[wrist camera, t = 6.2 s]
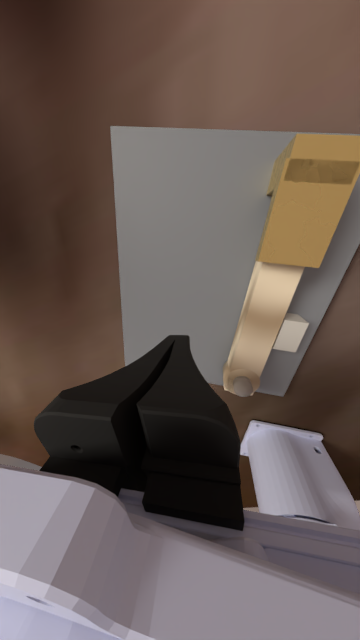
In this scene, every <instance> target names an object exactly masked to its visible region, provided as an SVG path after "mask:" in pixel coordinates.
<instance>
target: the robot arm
mask: <svg viewBox="0 0 360 640" xmlns="http://www.w3.org/2000/svg"><path fill="white" fill-rule="evenodd" d="M34 430H35V432H36V434H37V437H38V438H39V440H40V441H41V443H42V444H43V446H44V447H45V449H46V450H47V452H48V454H49V455H50V457H49V459H48V460H47V461H46V463H45V464H44V465H43V467H42V468H41V469H40V471H36V470H30V469H25V468H19V467H13V466H8V465H2V464H0V640H360V516H359V512H358V509H357V507H356V504H355V502H354V499H353V497H352V495H351V493H350V492H349V490H348V488H347V486H346V484H345V483H344V481H343V479H342V477H341V476H340V474H339V472H338V470H337V469H336V467H335V465H334V463H333V462H332V460H331V458H330V456H329V455H328V453H327V451H326V449H325V447H324V446H323V444H322V442H321V441H322V439H323V436H322V434H320V433H316V432H311V431H306V430H301V429H296V428H291V427H286V426H281V425H276V424H271V423H266V422H261V421H256V420H252V421H251V422H250V424H249V426H248V429H247V431H246V433H245V436H244V438H243V441H242V443H241V445H240V439H239V435H238V432H237V428H236V426H235V423H234V420H233V418H232V415H231V413H230V411H229V409H228V406H227V404H226V403H225V402H224V401H223V400H222V399H221V398H220V397H219V396H218V395H217V394H216V393H215V392H214V390H213V389H212V388H211V387H210V386H209V384H208V383H207V381H206V380H205V379H204V377H203V376H202V374H201V373H200V371H199V369H198V367H197V365H196V363H195V361H194V359H193V356H192V354H191V350H190V337H189V336H188V335H169V336H167V337H166V338H165V339H164V340H163V341H161V342H160V343H159V344H158V345H157V346H155V347H154V348H153V349H152V350H150V351H149V352H147V353H146V354H145V355H143V356H142V357H140V358H139V359H137V360H136V361H134V362H132V363H131V364H129V365H127V366H125V367H123V368H121V369H119V370H117V371H115V372H113V373H111V374H109V375H107V376H104V377H102V378H99V379H97V380H94V381H91V382H89V383H86V384H83V385H80V386H76V387H73V388H70V389H67V390H63V391H62V392H61V393H60V394H59V395H58V396H57V397H56V398H55V399H54V400H53V401H52V402H51V403H50V404H49V405H48V406H47V407H46V408H45V409H44V410H43V411H42V412H41V413H40V414H39V415H38V416H37V417H36V418H35V421H34ZM240 454H241V455H245V456H249V460H250V465H251V471H252V476H253V481H254V486H255V492H256V497H257V502H258V508H259V513H258V512H253V511H247V510H243V505H242V497H241V490H240V484H241V481H240V473H239V459H240Z"/></svg>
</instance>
